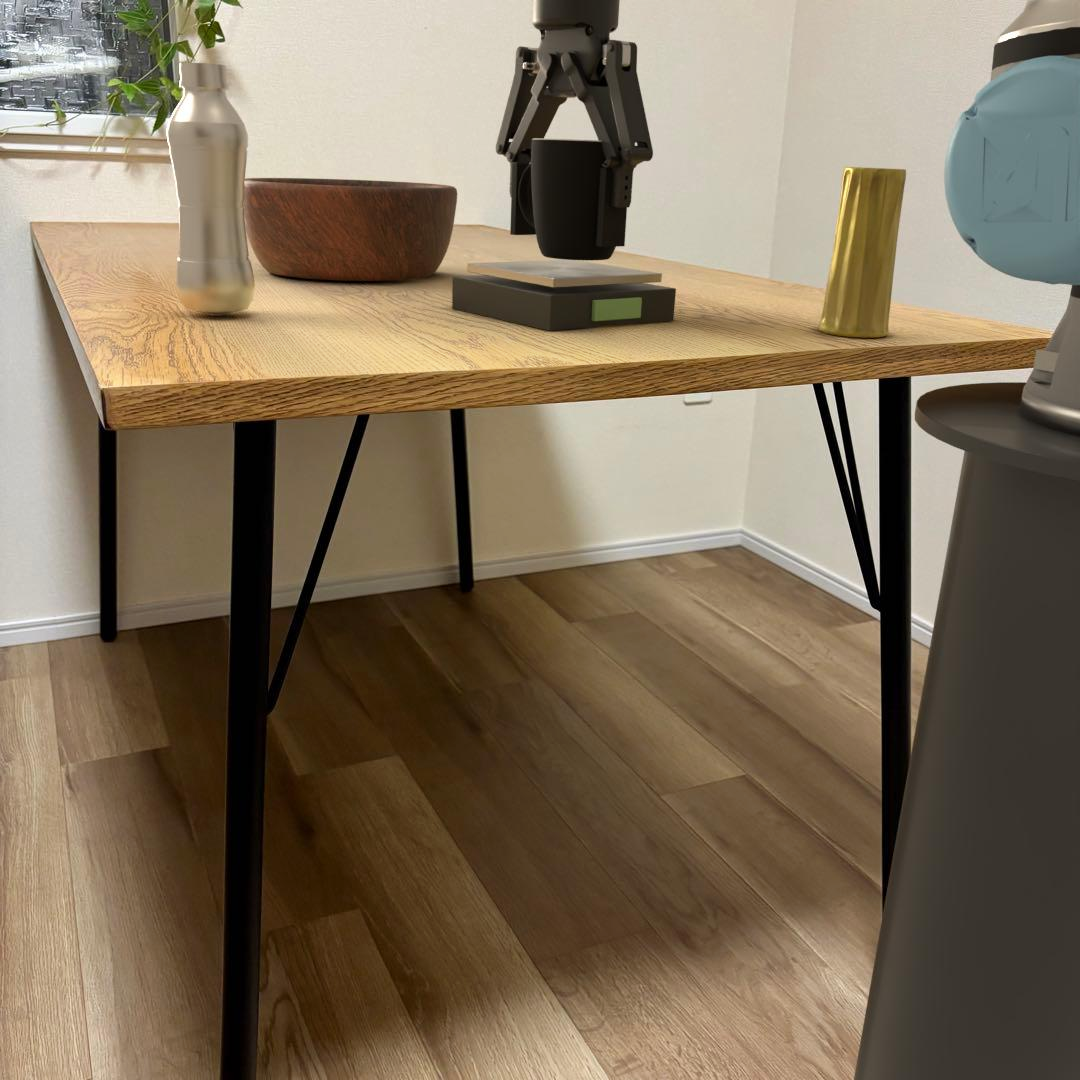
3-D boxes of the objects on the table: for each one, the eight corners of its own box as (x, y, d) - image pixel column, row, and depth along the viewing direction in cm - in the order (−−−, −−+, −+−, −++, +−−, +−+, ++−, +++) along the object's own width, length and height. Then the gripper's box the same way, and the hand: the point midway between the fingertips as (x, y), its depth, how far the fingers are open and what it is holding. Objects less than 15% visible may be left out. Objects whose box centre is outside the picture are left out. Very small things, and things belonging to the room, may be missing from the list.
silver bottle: (214, 306, 99) (200, 67, 92) (272, 314, 96) (262, 68, 89) (160, 314, 93) (141, 60, 87) (220, 322, 90) (205, 61, 84)
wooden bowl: (425, 263, 144) (426, 181, 141) (483, 285, 122) (485, 190, 119) (231, 262, 136) (226, 175, 132) (255, 286, 114) (250, 183, 110)
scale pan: (661, 282, 101) (662, 273, 101) (553, 287, 93) (553, 278, 93) (572, 267, 111) (572, 259, 110) (466, 271, 103) (467, 263, 103)
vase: (891, 340, 96) (916, 169, 91) (820, 335, 97) (841, 166, 92) (883, 330, 102) (906, 169, 97) (816, 326, 102) (836, 166, 98)
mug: (644, 259, 100) (652, 143, 97) (579, 263, 94) (585, 139, 91) (551, 248, 108) (555, 140, 105) (485, 251, 102) (487, 137, 99)
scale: (676, 321, 102) (679, 288, 101) (552, 331, 93) (554, 296, 92) (571, 300, 113) (572, 271, 112) (451, 308, 104) (452, 276, 103)
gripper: (461, -13, 100) (458, 230, 107) (642, -40, 82) (623, 253, 90) (525, -4, 105) (518, 229, 112) (710, -27, 87) (687, 251, 94)
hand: (565, 240), depth 101 cm, fingers closed on mug, 12 cm apart
